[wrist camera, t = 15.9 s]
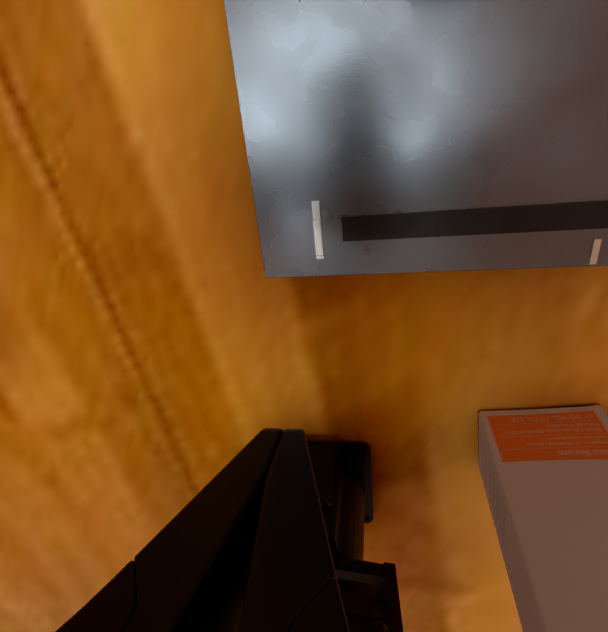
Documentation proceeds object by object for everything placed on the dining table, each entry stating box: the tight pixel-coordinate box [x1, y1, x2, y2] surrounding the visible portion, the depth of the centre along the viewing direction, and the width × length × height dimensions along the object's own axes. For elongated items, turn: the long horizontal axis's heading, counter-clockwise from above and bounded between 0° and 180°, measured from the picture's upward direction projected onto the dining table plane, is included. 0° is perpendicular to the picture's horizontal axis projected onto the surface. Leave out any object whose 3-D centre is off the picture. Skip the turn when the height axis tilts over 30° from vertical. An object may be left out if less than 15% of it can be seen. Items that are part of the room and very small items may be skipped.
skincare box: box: [478, 405, 608, 632], centre depth 18 cm, size 6×4×12 cm
